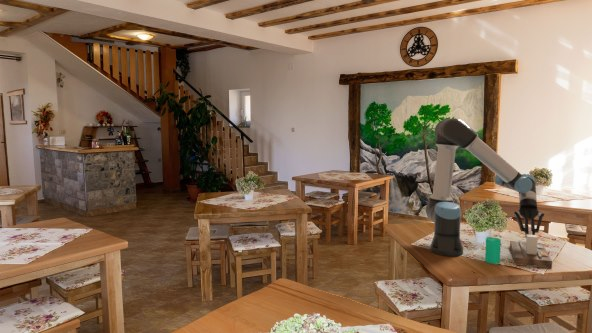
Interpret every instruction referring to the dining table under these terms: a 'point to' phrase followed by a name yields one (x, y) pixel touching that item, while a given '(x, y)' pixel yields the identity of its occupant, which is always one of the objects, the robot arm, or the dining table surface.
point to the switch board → (530, 255)
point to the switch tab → (531, 244)
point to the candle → (492, 250)
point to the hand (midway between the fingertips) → (530, 244)
